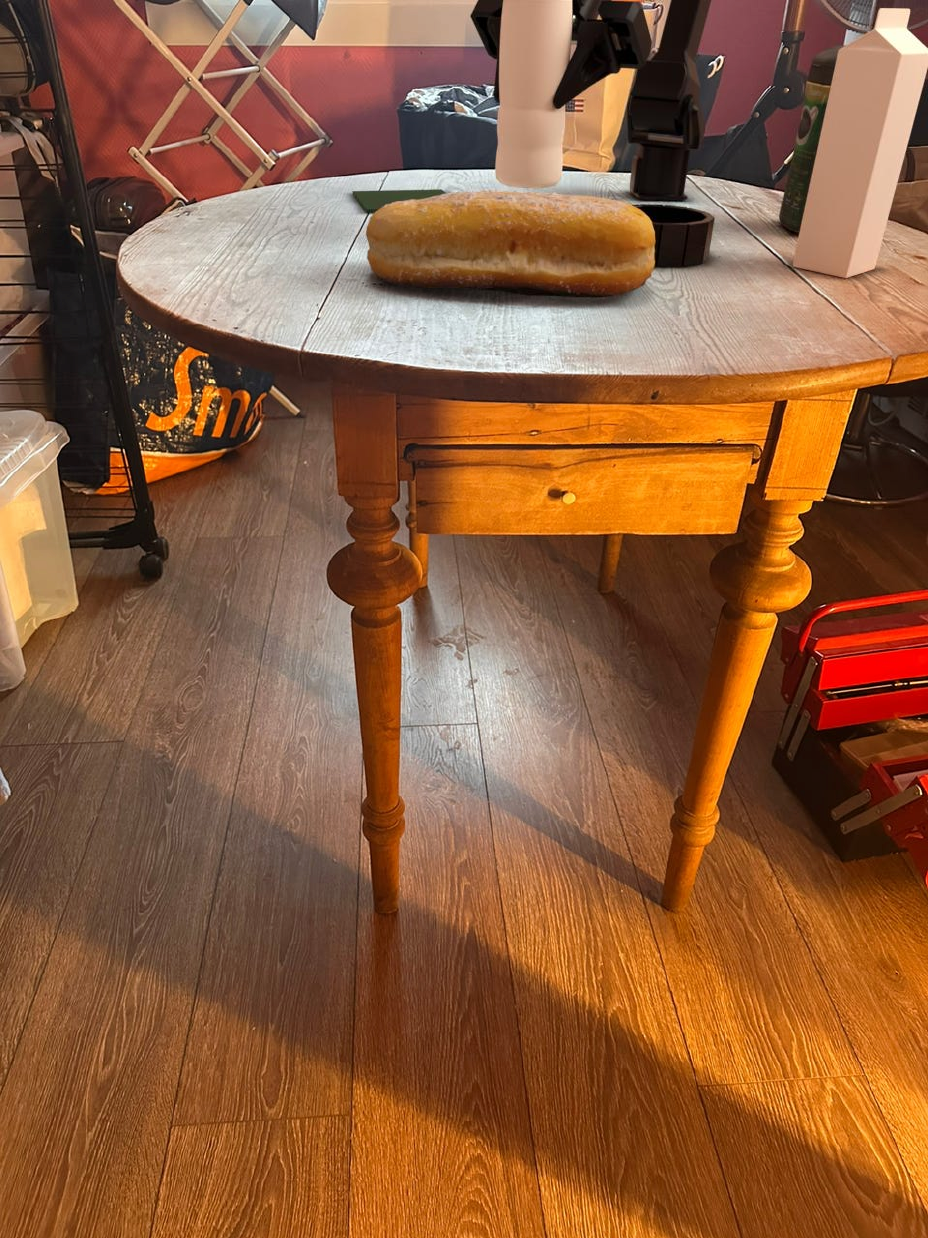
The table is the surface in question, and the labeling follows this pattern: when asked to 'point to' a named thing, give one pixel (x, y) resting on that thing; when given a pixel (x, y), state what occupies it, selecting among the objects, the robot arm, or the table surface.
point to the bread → (513, 243)
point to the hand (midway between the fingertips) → (525, 102)
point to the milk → (862, 147)
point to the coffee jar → (808, 138)
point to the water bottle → (532, 91)
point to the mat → (390, 197)
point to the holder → (679, 234)
